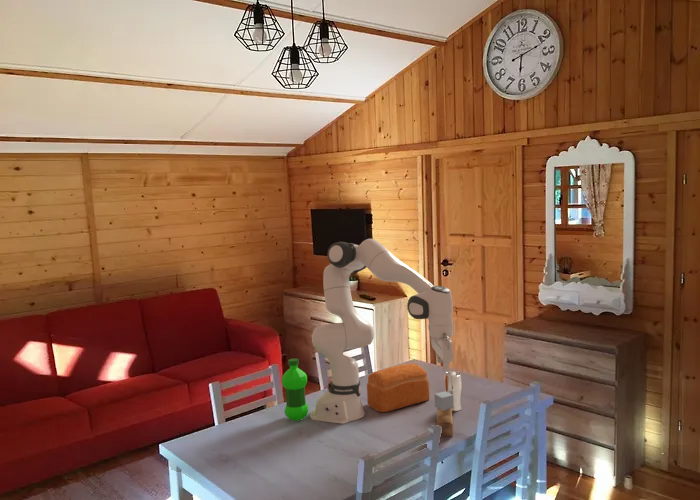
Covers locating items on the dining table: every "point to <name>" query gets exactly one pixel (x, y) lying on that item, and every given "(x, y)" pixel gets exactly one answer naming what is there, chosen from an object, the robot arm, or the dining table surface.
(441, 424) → the walnut base block
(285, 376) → the plastic bottle
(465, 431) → the dining table surface
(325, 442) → the dining table surface
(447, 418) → the oak block
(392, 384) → the bread
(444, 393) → the slate block
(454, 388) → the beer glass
